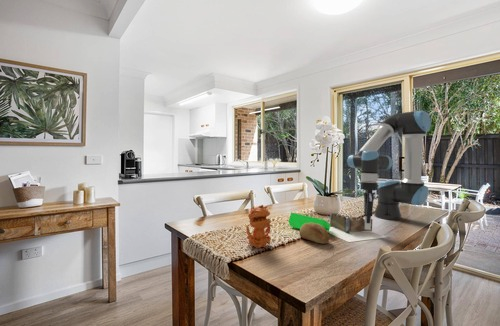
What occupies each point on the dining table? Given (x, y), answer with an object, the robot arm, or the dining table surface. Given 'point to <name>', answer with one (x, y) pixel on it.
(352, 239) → the card
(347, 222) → the hinge post
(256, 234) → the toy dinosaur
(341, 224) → the fence fixed
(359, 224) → the fence panel
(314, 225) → the bread roll
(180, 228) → the dining table surface
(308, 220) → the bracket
